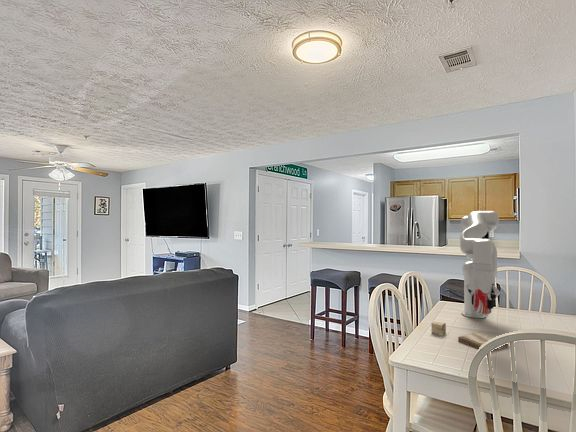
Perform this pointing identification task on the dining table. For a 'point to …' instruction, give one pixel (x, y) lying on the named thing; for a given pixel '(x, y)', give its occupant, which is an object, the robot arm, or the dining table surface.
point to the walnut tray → (476, 340)
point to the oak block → (438, 327)
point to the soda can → (481, 302)
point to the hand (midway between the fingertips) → (482, 306)
